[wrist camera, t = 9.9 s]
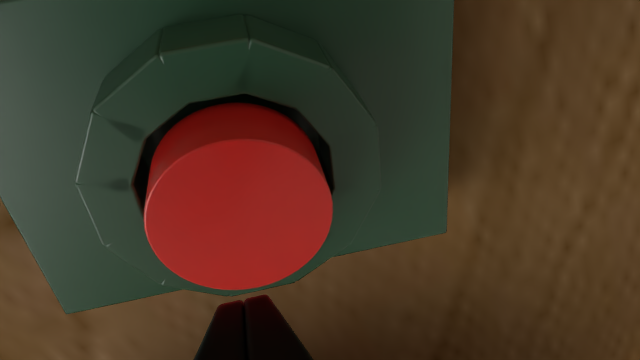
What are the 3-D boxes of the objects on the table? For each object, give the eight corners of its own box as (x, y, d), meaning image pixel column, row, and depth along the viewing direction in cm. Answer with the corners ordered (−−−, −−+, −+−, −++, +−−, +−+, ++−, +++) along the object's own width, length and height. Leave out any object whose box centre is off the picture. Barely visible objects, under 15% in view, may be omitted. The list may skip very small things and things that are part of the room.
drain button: (175, 257, 14) (173, 306, 12) (126, 120, 11) (115, 161, 10) (326, 225, 14) (341, 270, 13) (308, 87, 12) (323, 122, 10)
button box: (79, 266, 18) (51, 365, 14) (-60, -10, 13) (-151, 46, 9) (423, 194, 19) (471, 271, 15) (423, -84, 14) (495, -58, 10)
